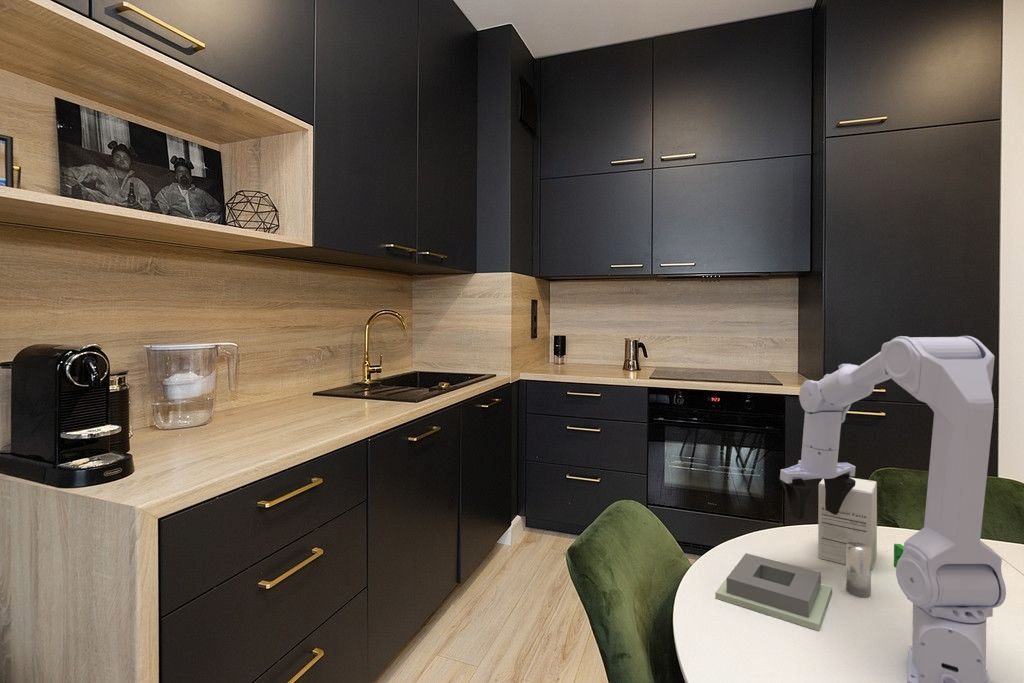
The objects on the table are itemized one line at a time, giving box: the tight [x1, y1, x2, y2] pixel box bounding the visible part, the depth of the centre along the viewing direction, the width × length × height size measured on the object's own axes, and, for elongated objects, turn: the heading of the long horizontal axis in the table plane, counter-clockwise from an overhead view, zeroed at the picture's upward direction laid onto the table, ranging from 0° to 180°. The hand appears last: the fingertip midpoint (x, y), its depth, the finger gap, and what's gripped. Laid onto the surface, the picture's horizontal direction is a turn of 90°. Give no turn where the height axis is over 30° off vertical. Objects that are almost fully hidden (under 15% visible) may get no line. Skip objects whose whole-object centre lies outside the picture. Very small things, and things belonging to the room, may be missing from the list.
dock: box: [714, 552, 833, 632], centre depth 85 cm, size 14×15×4 cm
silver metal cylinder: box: [845, 542, 872, 599], centre depth 86 cm, size 4×4×8 cm
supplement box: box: [817, 476, 878, 572], centre depth 100 cm, size 9×9×15 cm
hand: (814, 514), depth 95 cm, fingers open, 7 cm apart
